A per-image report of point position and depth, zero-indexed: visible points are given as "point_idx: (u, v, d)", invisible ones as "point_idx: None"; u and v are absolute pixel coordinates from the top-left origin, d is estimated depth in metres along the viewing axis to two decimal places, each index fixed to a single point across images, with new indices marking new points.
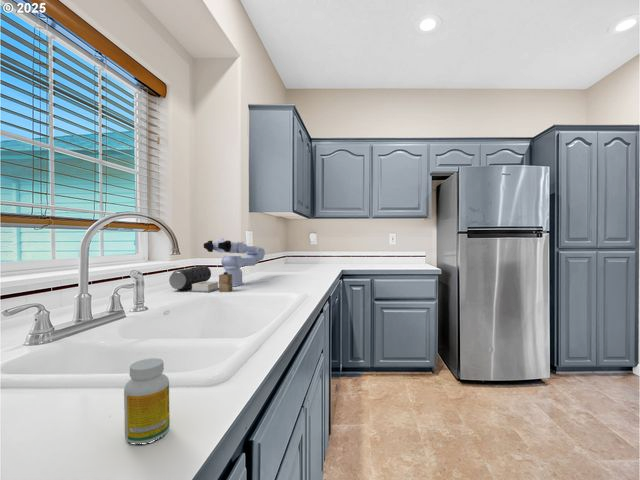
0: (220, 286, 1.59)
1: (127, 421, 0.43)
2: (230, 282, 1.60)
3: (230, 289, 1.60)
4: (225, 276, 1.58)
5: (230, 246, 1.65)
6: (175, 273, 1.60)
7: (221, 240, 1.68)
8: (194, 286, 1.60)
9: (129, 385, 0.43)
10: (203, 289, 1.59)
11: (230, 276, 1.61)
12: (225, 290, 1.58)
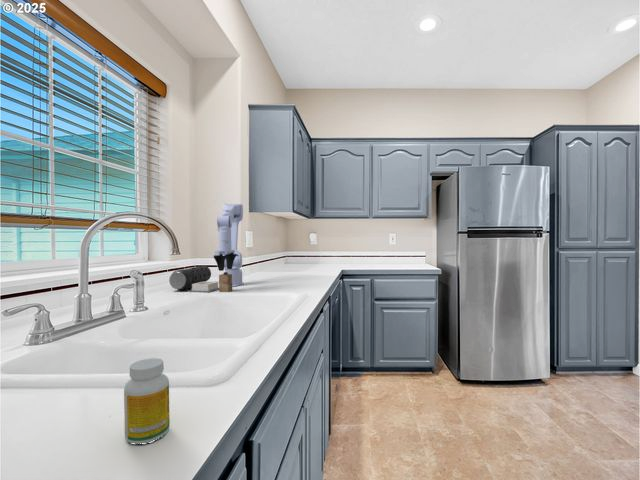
0: (220, 286, 1.59)
1: (127, 421, 0.43)
2: (230, 282, 1.60)
3: (230, 289, 1.60)
4: (225, 276, 1.58)
5: None
6: (175, 273, 1.60)
7: (231, 251, 1.60)
8: (194, 286, 1.60)
9: (129, 385, 0.43)
10: (203, 289, 1.59)
11: (230, 276, 1.61)
12: (225, 290, 1.58)
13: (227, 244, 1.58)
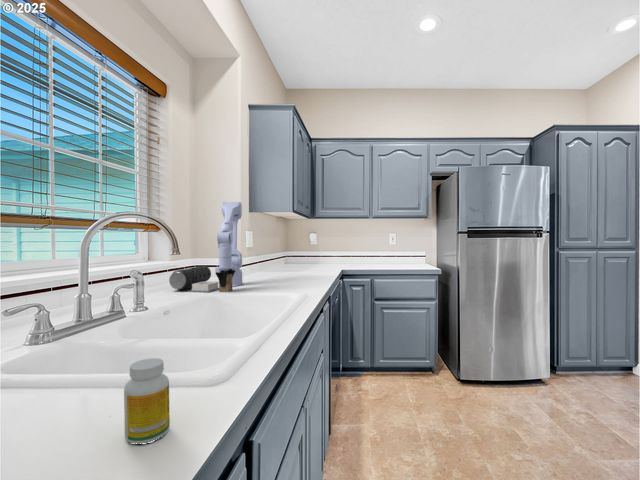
0: (220, 286, 1.59)
1: (127, 421, 0.43)
2: (230, 282, 1.60)
3: (230, 289, 1.60)
4: None
5: None
6: (175, 273, 1.60)
7: (231, 268, 1.60)
8: (194, 286, 1.60)
9: (129, 385, 0.43)
10: (203, 289, 1.59)
11: (230, 276, 1.61)
12: (225, 290, 1.58)
13: (227, 260, 1.58)
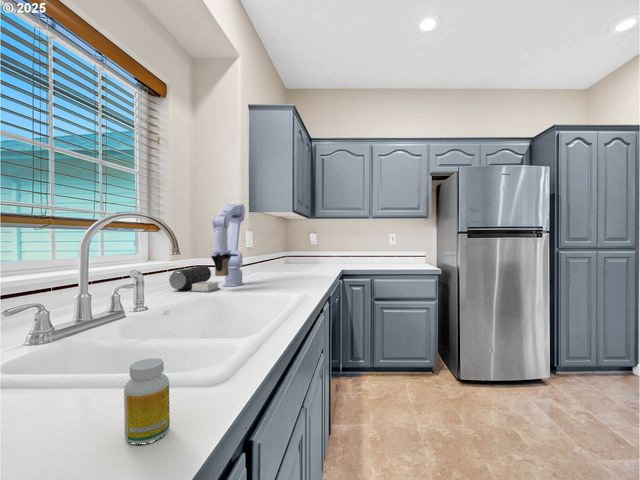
0: (216, 270, 1.59)
1: (127, 421, 0.43)
2: (226, 266, 1.61)
3: (226, 273, 1.61)
4: None
5: None
6: (175, 273, 1.60)
7: (227, 252, 1.60)
8: (194, 286, 1.60)
9: (130, 385, 0.43)
10: (203, 289, 1.59)
11: (226, 260, 1.61)
12: (221, 274, 1.59)
13: (223, 244, 1.58)
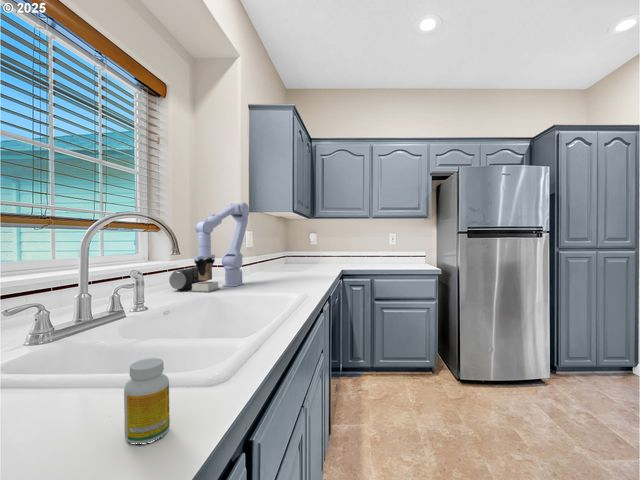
0: (199, 274, 1.62)
1: (127, 421, 0.43)
2: (210, 271, 1.63)
3: (210, 278, 1.63)
4: None
5: None
6: (175, 273, 1.60)
7: (210, 257, 1.63)
8: (194, 286, 1.60)
9: (129, 385, 0.43)
10: (203, 289, 1.59)
11: (210, 265, 1.63)
12: (204, 278, 1.61)
13: (206, 249, 1.61)
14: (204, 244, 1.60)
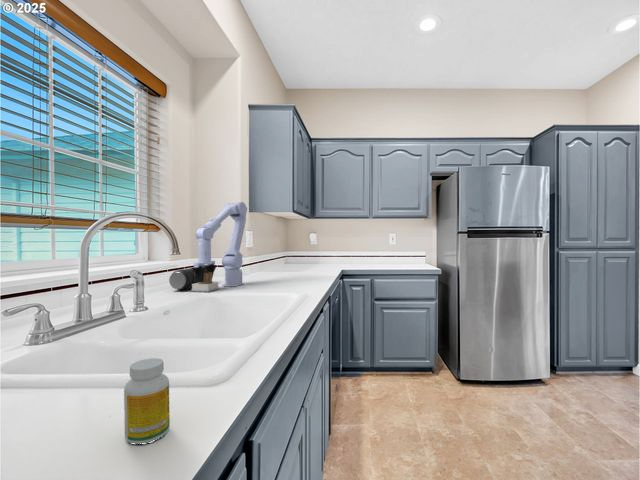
0: None
1: (127, 421, 0.43)
2: (210, 280, 1.63)
3: None
4: (204, 274, 1.61)
5: None
6: (175, 273, 1.60)
7: (210, 263, 1.63)
8: (194, 286, 1.60)
9: (129, 385, 0.43)
10: (203, 289, 1.59)
11: (210, 274, 1.63)
12: None
13: (206, 256, 1.61)
14: (204, 251, 1.60)
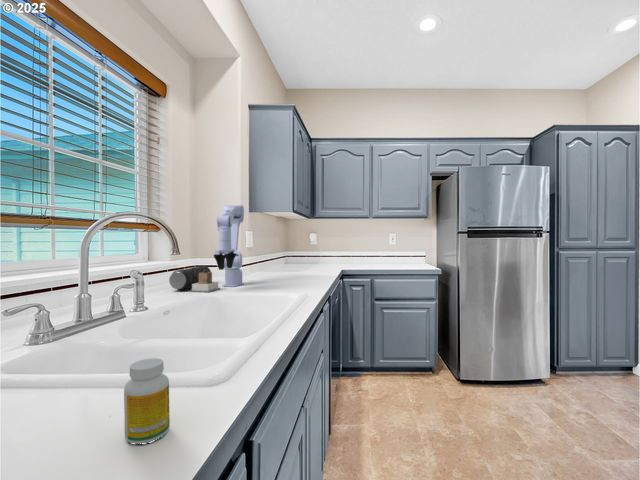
0: None
1: (127, 421, 0.43)
2: (210, 280, 1.63)
3: None
4: (204, 274, 1.61)
5: None
6: (175, 273, 1.60)
7: (230, 251, 1.62)
8: (194, 286, 1.60)
9: (129, 385, 0.43)
10: (203, 289, 1.59)
11: (210, 274, 1.63)
12: None
13: (227, 243, 1.60)
14: (228, 238, 1.60)
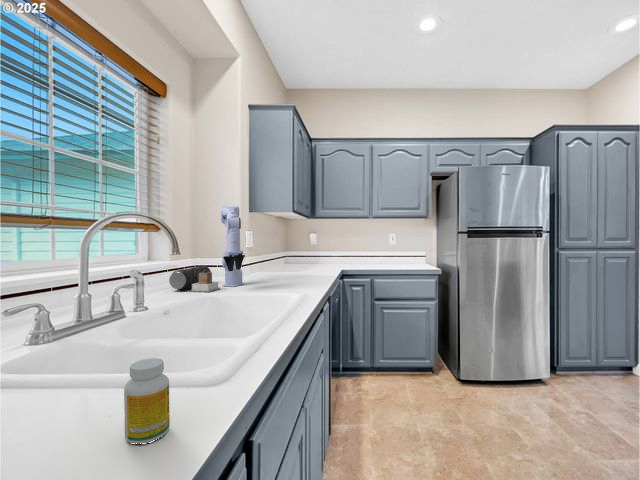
0: None
1: (127, 421, 0.43)
2: (210, 280, 1.63)
3: None
4: (204, 274, 1.61)
5: None
6: (175, 273, 1.60)
7: (240, 252, 1.64)
8: (194, 286, 1.60)
9: (130, 385, 0.43)
10: (203, 289, 1.59)
11: (210, 274, 1.63)
12: None
13: (236, 245, 1.62)
14: (239, 240, 1.63)
